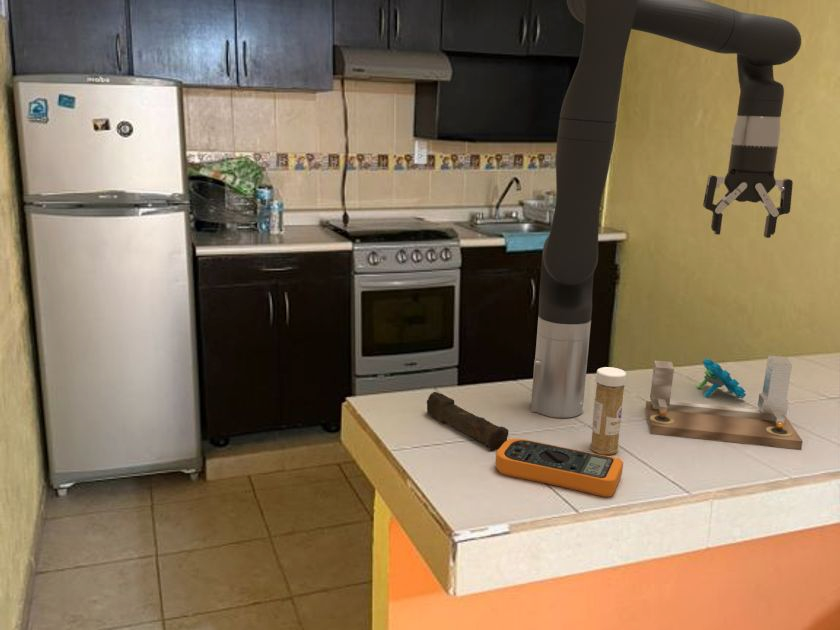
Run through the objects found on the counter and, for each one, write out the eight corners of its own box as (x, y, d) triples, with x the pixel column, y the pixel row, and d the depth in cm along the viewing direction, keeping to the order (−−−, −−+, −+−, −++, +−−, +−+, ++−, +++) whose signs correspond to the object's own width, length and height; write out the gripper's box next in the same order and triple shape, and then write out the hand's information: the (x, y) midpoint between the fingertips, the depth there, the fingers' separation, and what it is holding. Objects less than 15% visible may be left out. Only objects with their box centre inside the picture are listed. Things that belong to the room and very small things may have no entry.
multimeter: (507, 453, 124) (509, 433, 123) (622, 477, 117) (625, 456, 116) (490, 475, 116) (491, 454, 115) (612, 502, 109) (614, 480, 108)
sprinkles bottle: (617, 457, 123) (625, 376, 119) (588, 453, 124) (595, 373, 121) (619, 446, 127) (627, 368, 124) (590, 442, 128) (598, 364, 125)
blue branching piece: (757, 398, 147) (723, 360, 145) (734, 419, 147) (700, 382, 146) (729, 385, 158) (697, 351, 156) (708, 406, 158) (676, 371, 156)
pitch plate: (650, 433, 133) (656, 379, 130) (645, 408, 144) (651, 358, 142) (801, 449, 128) (810, 394, 126) (783, 422, 140) (791, 371, 137)
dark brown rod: (509, 449, 125) (511, 422, 124) (489, 454, 123) (491, 426, 122) (439, 411, 140) (441, 386, 139) (421, 415, 138) (422, 390, 137)
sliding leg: (767, 428, 131) (776, 370, 128) (756, 410, 139) (765, 355, 136) (792, 430, 130) (802, 372, 128) (780, 412, 138) (789, 357, 136)
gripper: (715, 142, 134) (703, 236, 138) (804, 145, 131) (789, 241, 135) (708, 141, 141) (697, 230, 145) (792, 144, 138) (779, 235, 142)
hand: (741, 235), depth 140 cm, fingers open, 8 cm apart
